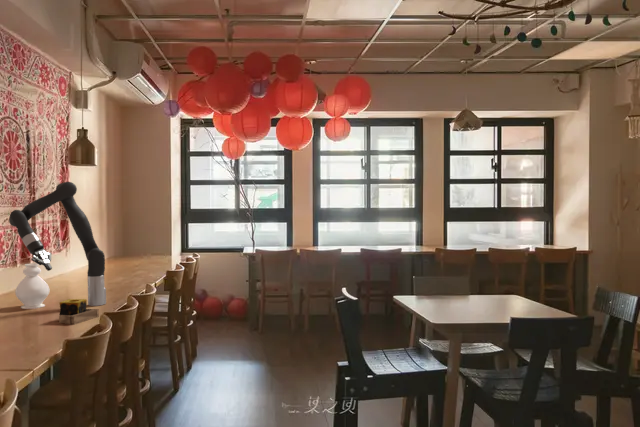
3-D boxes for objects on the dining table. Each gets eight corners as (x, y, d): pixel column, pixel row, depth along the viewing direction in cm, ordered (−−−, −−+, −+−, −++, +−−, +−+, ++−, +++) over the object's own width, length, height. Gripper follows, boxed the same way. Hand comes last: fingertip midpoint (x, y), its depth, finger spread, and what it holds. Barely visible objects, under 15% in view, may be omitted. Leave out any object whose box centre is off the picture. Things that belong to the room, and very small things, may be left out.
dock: (59, 323, 286) (59, 315, 286) (84, 315, 305) (84, 308, 304) (74, 324, 284) (74, 316, 284) (98, 316, 302) (98, 309, 302)
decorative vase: (41, 302, 344) (40, 261, 344) (55, 306, 333) (54, 263, 332) (10, 307, 331) (9, 264, 330) (23, 311, 319) (22, 266, 319)
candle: (58, 321, 291) (58, 302, 290) (68, 317, 301) (67, 298, 301) (78, 321, 290) (78, 302, 290) (87, 317, 301) (86, 298, 300)
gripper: (27, 241, 298) (45, 268, 297) (46, 237, 310) (63, 263, 309) (18, 249, 300) (36, 276, 299) (38, 245, 313) (54, 271, 311)
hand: (50, 269), depth 304 cm, fingers closed
